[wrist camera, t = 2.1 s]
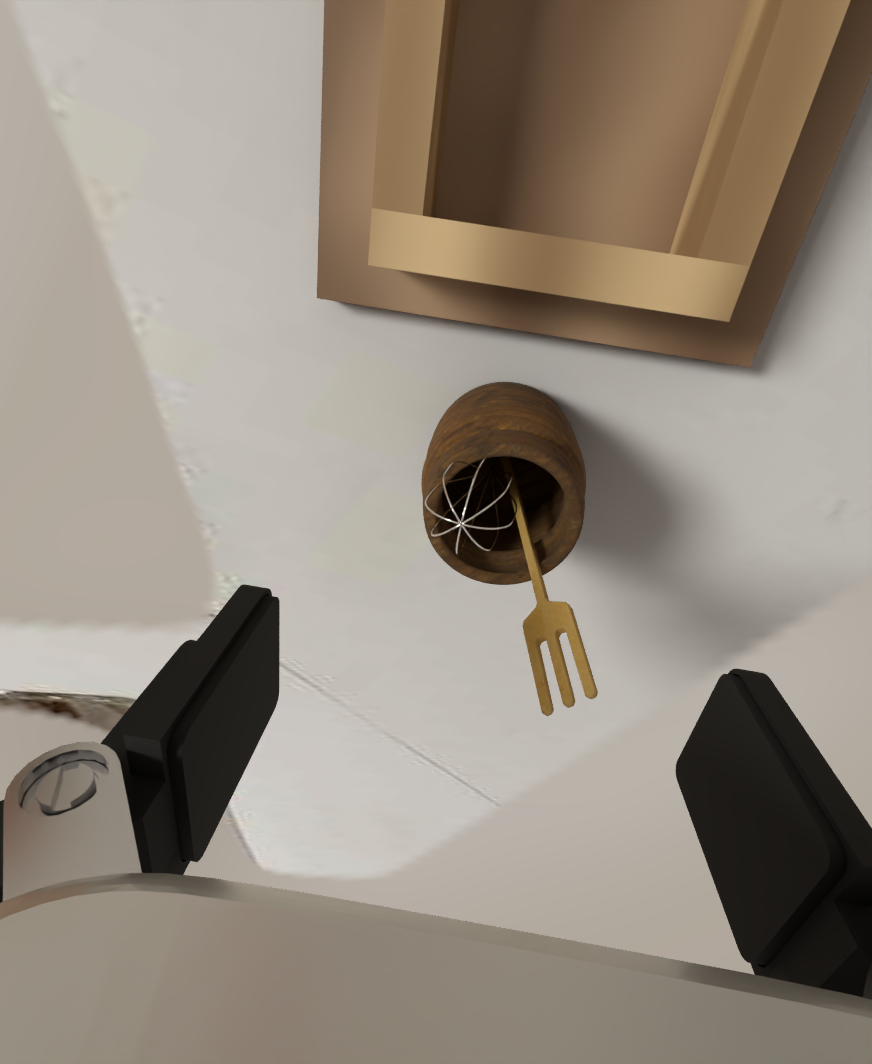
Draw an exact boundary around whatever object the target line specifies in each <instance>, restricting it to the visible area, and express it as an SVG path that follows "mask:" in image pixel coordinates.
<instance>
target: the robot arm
mask: <svg viewBox="0 0 872 1064" xmlns="http://www.w3.org/2000/svg"><path fill="white" fill-rule="evenodd" d="M278 696H279V599H278V597H273V596H272V593H271V590H270V589H267V588H261V587H256V586H250V585H241V586H240V587H239V588H238V590H237V591H236V592H235V593H234V595H233V596H232V597H231V598H230V600H229V601H228V602H227V603H226V605H225V606H224V607H223V609H222V610H221V611H220V612H219V614H218V615H217V616H216V617H215V619H214V620H213V621H212V622H211V624H210V625H209V626H208V628H207V629H206V630H205V631H204V633H203V634H202V635H201V636H200V638H199V639H198V640H197V641H194V640H188V641H186V642H185V643H183V644H182V645H181V646H180V647H179V649H178V650H177V651H176V652H175V654H174V655H173V656H172V657H171V658H170V660H169V661H168V662H167V663H166V664H165V666H164V667H163V668H162V669H161V671H160V672H159V673H158V674H157V675H156V677H155V678H154V679H153V680H152V682H151V683H150V684H149V685H148V686H147V688H146V689H145V690H144V691H143V693H142V694H141V695H140V696H139V697H138V699H137V700H136V701H135V702H134V703H133V705H132V706H131V707H130V708H129V710H128V711H127V712H126V713H125V714H124V716H123V717H122V718H121V719H120V721H119V722H118V723H117V724H116V725H115V727H114V728H113V729H112V730H111V731H110V733H109V734H108V735H107V736H106V738H105V739H104V740H103V741H102V742H101V744H99V743H95V742H77V743H72V744H68V745H64V746H60V747H58V748H55V749H53V750H50V751H48V752H46V753H44V754H42V755H41V756H39V757H37V758H36V759H34V760H33V761H31V762H30V763H28V764H27V765H26V766H25V767H24V768H23V769H22V770H21V771H20V772H19V773H18V774H17V775H16V776H15V777H14V779H13V780H12V782H11V783H10V785H9V786H8V788H7V791H6V794H5V799H4V800H2V801H0V1064H872V828H871V827H870V825H869V824H868V822H867V821H866V819H865V818H864V816H863V815H862V813H861V812H860V810H859V809H858V807H857V806H856V804H855V803H854V802H853V800H852V799H851V797H850V796H849V794H848V793H847V791H846V790H845V788H844V787H843V785H842V784H841V782H840V781H839V779H838V778H837V777H836V775H835V774H834V772H833V771H832V769H831V768H830V766H829V765H828V763H827V762H826V760H825V759H824V758H823V756H822V754H821V753H820V751H819V750H818V749H817V747H816V746H815V744H814V743H813V741H812V740H811V738H810V737H809V735H808V734H807V732H806V731H805V729H804V728H803V726H802V725H801V723H800V722H799V720H798V719H797V718H796V716H795V715H794V713H793V712H792V710H791V709H790V707H789V706H788V704H787V703H786V701H785V700H784V698H783V697H782V695H781V694H780V693H779V691H778V690H777V688H776V687H775V685H774V684H773V682H772V681H771V679H770V678H769V677H768V676H767V675H766V674H764V673H759V672H753V671H747V670H742V669H733V670H731V671H730V672H729V673H728V674H723V675H722V676H721V677H720V678H719V680H718V682H717V684H716V686H715V688H714V690H713V692H712V694H711V696H710V698H709V700H708V702H707V704H706V706H705V707H704V709H703V711H702V713H701V715H700V717H699V719H698V721H697V723H696V725H695V727H694V729H693V731H692V733H691V735H690V737H689V739H688V741H687V743H686V745H685V747H684V749H683V751H682V753H681V755H680V757H679V759H678V761H677V764H676V777H677V781H678V784H679V787H680V789H681V792H682V795H683V797H684V800H685V803H686V806H687V809H688V811H689V814H690V817H691V820H692V822H693V825H694V828H695V831H696V833H697V836H698V839H699V842H700V844H701V847H702V850H703V853H704V855H705V858H706V861H707V863H708V866H709V869H710V872H711V875H712V877H713V880H714V883H715V886H716V889H717V891H718V894H719V897H720V900H721V902H722V905H723V908H724V911H725V913H726V916H727V919H728V921H729V924H730V927H731V930H732V933H733V935H734V938H735V941H736V944H737V946H738V949H739V951H740V953H741V955H742V957H743V958H744V960H746V961H747V962H749V963H751V965H752V968H753V971H754V974H755V975H753V974H748V973H742V972H737V971H732V970H726V969H721V968H716V967H711V966H705V965H700V964H695V963H689V962H684V961H679V960H673V959H668V958H663V957H657V956H652V955H646V954H642V953H636V952H631V951H626V950H620V949H615V948H610V947H604V946H599V945H593V944H587V943H582V942H577V941H571V940H566V939H560V938H555V937H550V936H544V935H539V934H533V933H528V932H522V931H517V930H511V929H506V928H500V927H495V926H489V925H483V924H478V923H473V922H467V921H461V920H456V919H450V918H445V917H439V916H433V915H428V914H422V913H417V912H411V911H405V910H400V909H394V908H389V907H383V906H377V905H372V904H366V903H360V902H355V901H349V900H343V899H337V898H332V897H326V896H321V895H315V894H309V893H304V892H297V891H290V890H284V889H278V888H272V887H266V886H259V885H253V884H246V883H240V882H233V881H228V880H221V879H215V878H205V877H196V876H186V875H183V874H184V872H185V870H186V868H187V866H188V864H189V862H190V861H194V862H198V861H199V860H200V859H201V857H202V856H203V854H204V852H205V850H206V848H207V846H208V844H209V842H210V840H211V838H212V836H213V834H214V832H215V830H216V828H217V826H218V824H219V822H220V820H221V818H222V816H223V814H224V811H225V809H226V807H227V805H228V803H229V801H230V799H231V797H232V795H233V793H234V791H235V789H236V787H237V785H238V783H239V781H240V779H241V777H242V775H243V773H244V771H245V769H246V767H247V765H248V763H249V761H250V758H251V756H252V754H253V752H254V750H255V748H256V746H257V744H258V742H259V740H260V738H261V736H262V734H263V732H264V730H265V728H266V726H267V724H268V722H269V720H270V718H271V716H272V714H273V712H274V709H275V707H276V704H277V701H278Z"/></svg>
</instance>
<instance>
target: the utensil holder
mask: <svg viewBox="0 0 872 1064" xmlns="http://www.w3.org/2000/svg"><path fill="white" fill-rule="evenodd" d="M585 488H586V474H585V467H584V461H583V458H582V454H581V451H580V448H579V445H578V443H577V440H576V437H575V435H574V433H573V430H572V428H571V426H570V424H569V422H568V420H567V418H566V417H565V415H564V413H563V412H562V411H561V409H560V408H559V407H558V406H557V405H556V404H555V403H554V402H553V401H552V400H551V399H550V398H549V397H547V396H546V395H545V394H543V393H542V392H540V391H538V390H536V389H534V388H532V387H529V386H527V385H523V384H519V383H513V382H496V383H490V384H486V385H483V386H479V387H477V388H475V389H473V390H471V391H469V392H467V393H465V394H464V395H463V396H461V397H460V398H459V399H457V400H456V401H455V402H454V403H453V404H452V405H451V406H450V407H449V408H448V410H447V411H446V412H445V414H444V415H443V417H442V418H441V420H440V422H439V424H438V426H437V428H436V430H435V432H434V435H433V437H432V440H431V442H430V445H429V448H428V451H427V454H426V457H425V461H424V466H423V471H422V494H423V515H424V522H425V528H426V531H427V534H428V537H429V540H430V542H431V544H432V546H433V547H434V549H435V550H436V552H437V553H438V555H439V556H440V557H441V558H442V559H443V560H444V561H445V562H446V563H447V564H448V565H449V566H450V567H452V568H453V569H454V570H456V571H457V572H459V573H461V574H462V575H464V576H466V577H469V578H471V579H473V580H476V581H480V582H484V583H489V584H498V585H509V584H518V583H523V582H527V581H530V580H532V584H533V588H534V592H535V596H536V600H537V605H536V608H535V609H534V610H533V611H532V612H531V614H530V615H529V616H528V617H527V618H526V619H525V620H524V623H523V630H524V635H525V639H526V644H527V648H528V653H529V657H530V662H531V666H532V670H533V675H534V679H535V684H536V688H537V693H538V697H539V702H540V706H541V711H542V713H543V714H544V715H546V716H549V715H551V714H552V713H553V710H554V709H553V704H552V700H551V695H550V691H549V686H548V681H547V677H546V672H545V668H544V663H543V659H542V654H541V649H540V645H541V643H542V642H544V641H546V640H547V644H548V648H549V651H550V655H551V659H552V663H553V667H554V670H555V674H556V678H557V682H558V686H559V690H560V693H561V697H562V701H563V704H564V705H565V706H566V707H568V708H569V707H572V706H574V703H575V698H574V694H573V690H572V686H571V683H570V679H569V675H568V671H567V667H566V663H565V659H564V656H563V652H562V648H561V644H560V640H559V637H560V635H561V634H562V633H564V632H566V633H567V636H568V639H569V643H570V646H571V649H572V653H573V656H574V659H575V663H576V666H577V669H578V673H579V676H580V679H581V683H582V686H583V689H584V693H585V696H586V697H588V698H589V699H593V698H595V697H596V696H597V693H598V692H597V689H596V685H595V682H594V679H593V675H592V672H591V669H590V665H589V662H588V659H587V655H586V652H585V649H584V646H583V642H582V639H581V636H580V632H579V629H578V626H577V622H576V619H575V616H574V613H573V609H572V608H571V607H570V605H569V604H567V603H566V602H552V601H549V599H548V596H547V592H546V588H545V584H544V581H543V577H542V575H544V574H546V573H548V572H549V571H551V570H552V569H554V568H555V567H557V566H558V565H559V564H560V563H561V562H562V561H563V560H564V559H565V558H566V557H567V556H568V555H569V553H570V552H571V550H572V549H573V547H574V546H575V544H576V542H577V540H578V538H579V535H580V532H581V529H582V524H583V518H584V503H585V501H584V495H585Z"/></svg>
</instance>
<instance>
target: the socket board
mask: <svg viewBox="0 0 872 1064" xmlns="http://www.w3.org/2000/svg"><path fill="white" fill-rule="evenodd" d="M871 73H872V0H324V40H323V79H322V119H321V158H320V198H319V238H318V277H317V298H320V299H326V300H333V301H339V302H345V303H351V304H358V305H364V306H370V307H376V308H383V309H389V310H395V311H401V312H408V313H414V314H420V315H426V316H433V317H439V318H445V319H451V320H458V321H464V322H470V323H476V324H483V325H489V326H495V327H501V328H507V329H514V330H520V331H526V332H532V333H539V334H545V335H551V336H557V337H564V338H570V339H576V340H582V341H589V342H595V343H601V344H607V345H614V346H620V347H626V348H632V349H639V350H645V351H651V352H657V353H664V354H670V355H676V356H682V357H689V358H695V359H701V360H707V361H713V362H720V363H726V364H732V365H738V366H745V367H751V364H752V362H753V359H754V357H755V355H756V352H757V350H758V347H759V345H760V342H761V340H762V338H763V335H764V333H765V330H766V328H767V325H768V323H769V321H770V318H771V316H772V313H773V311H774V308H775V306H776V304H777V301H778V299H779V296H780V294H781V292H782V289H783V287H784V284H785V282H786V279H787V277H788V275H789V272H790V270H791V267H792V265H793V262H794V260H795V258H796V255H797V253H798V250H799V248H800V245H801V243H802V241H803V238H804V236H805V233H806V231H807V229H808V226H809V224H810V221H811V219H812V216H813V214H814V212H815V209H816V207H817V204H818V202H819V199H820V197H821V195H822V192H823V190H824V187H825V185H826V182H827V180H828V178H829V175H830V173H831V170H832V168H833V166H834V163H835V161H836V158H837V156H838V153H839V151H840V149H841V146H842V144H843V141H844V139H845V136H846V134H847V132H848V129H849V127H850V124H851V122H852V119H853V117H854V115H855V112H856V110H857V107H858V105H859V102H860V100H861V98H862V95H863V93H864V90H865V88H866V86H867V83H868V81H869V78H870V76H871Z"/></svg>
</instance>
